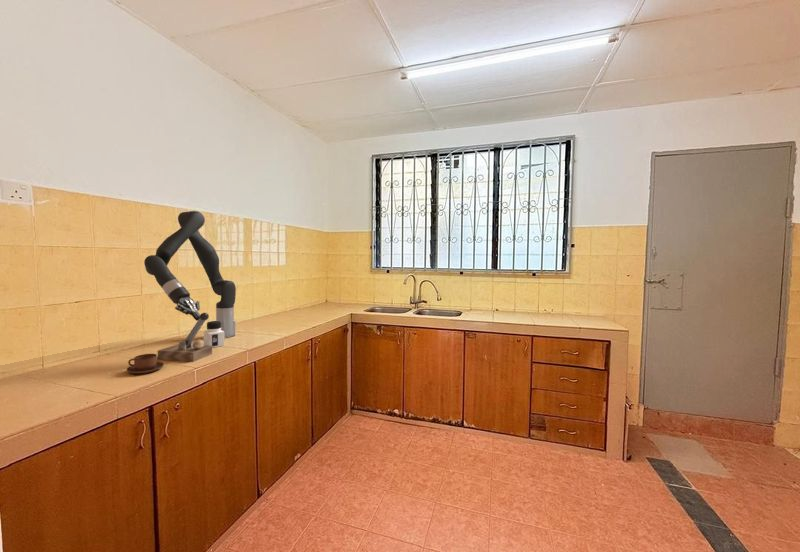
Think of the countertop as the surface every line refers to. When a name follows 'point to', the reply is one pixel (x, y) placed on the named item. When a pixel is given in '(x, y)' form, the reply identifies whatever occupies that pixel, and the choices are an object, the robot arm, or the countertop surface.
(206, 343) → the container
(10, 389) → the countertop surface
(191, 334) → the lever
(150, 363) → the cup and saucer
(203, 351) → the bench block
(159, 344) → the countertop surface
